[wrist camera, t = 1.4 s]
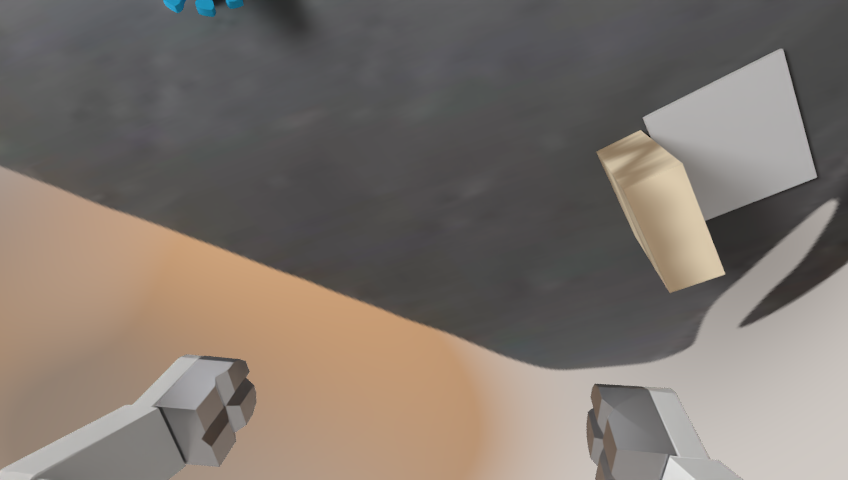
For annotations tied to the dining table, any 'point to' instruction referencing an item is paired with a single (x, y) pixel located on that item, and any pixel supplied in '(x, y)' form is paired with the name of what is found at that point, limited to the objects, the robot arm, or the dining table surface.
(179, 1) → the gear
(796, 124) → the mat
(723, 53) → the dining table surface
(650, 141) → the birch slab
